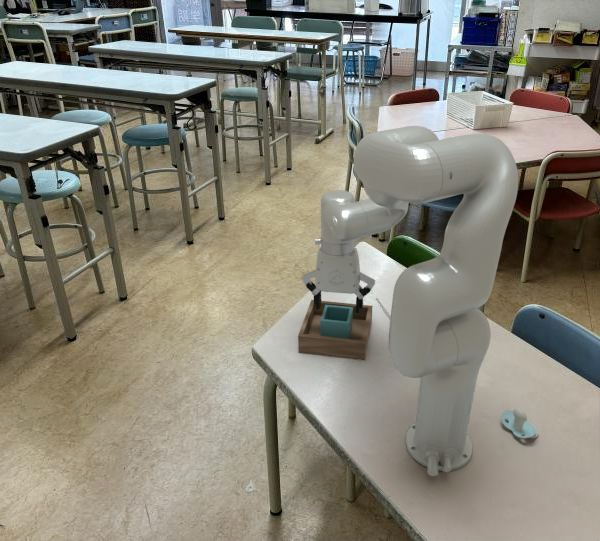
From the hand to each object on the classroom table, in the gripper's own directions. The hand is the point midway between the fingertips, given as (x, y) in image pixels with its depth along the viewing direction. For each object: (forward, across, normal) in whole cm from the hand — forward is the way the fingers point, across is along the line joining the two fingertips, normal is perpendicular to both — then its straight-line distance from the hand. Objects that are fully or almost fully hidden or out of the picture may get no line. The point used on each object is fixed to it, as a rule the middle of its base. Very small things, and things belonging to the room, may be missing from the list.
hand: (338, 308), depth 132 cm
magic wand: (+9, +11, +13) cm, 20 cm away
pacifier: (+11, +40, -23) cm, 48 cm away
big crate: (+9, -1, +1) cm, 9 cm away
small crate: (+8, 0, +1) cm, 8 cm away
